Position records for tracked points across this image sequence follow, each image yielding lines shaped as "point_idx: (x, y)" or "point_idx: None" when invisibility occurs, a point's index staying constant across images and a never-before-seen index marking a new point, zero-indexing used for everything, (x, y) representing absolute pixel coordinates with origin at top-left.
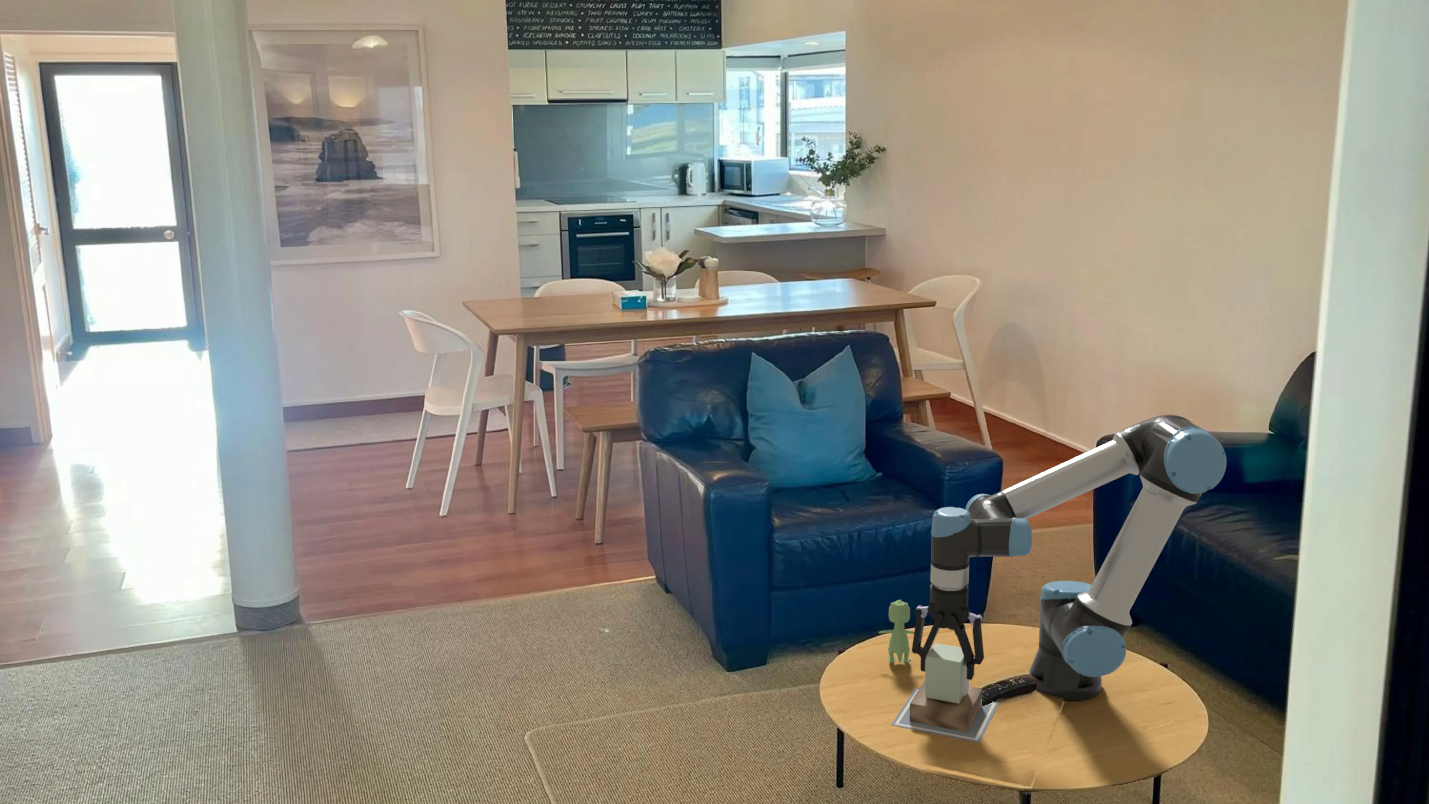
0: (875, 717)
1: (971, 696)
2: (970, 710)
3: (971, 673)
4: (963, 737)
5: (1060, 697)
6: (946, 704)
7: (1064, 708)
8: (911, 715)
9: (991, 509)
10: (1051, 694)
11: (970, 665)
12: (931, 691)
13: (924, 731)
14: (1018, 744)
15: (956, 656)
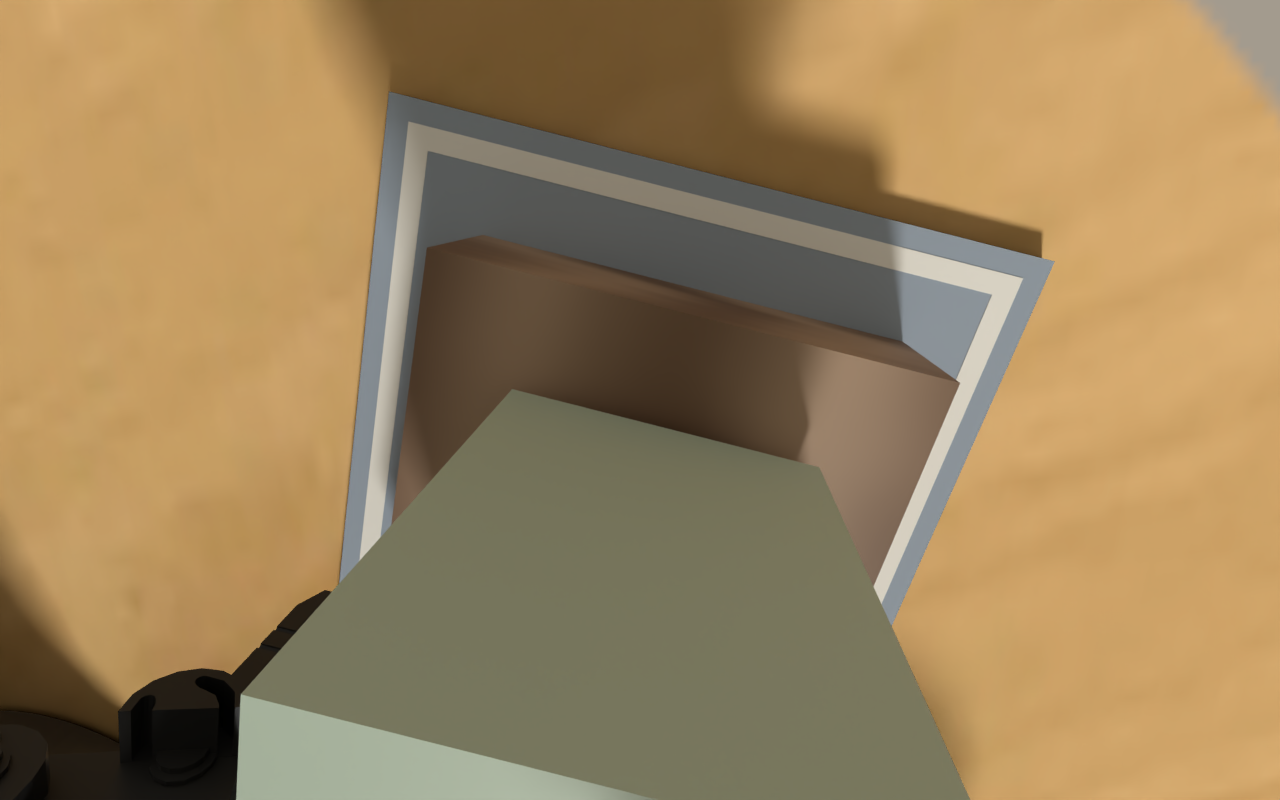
0: (1138, 395)
1: None
2: (418, 323)
3: (276, 644)
4: (509, 152)
5: (35, 722)
6: (627, 401)
7: (8, 632)
8: (904, 348)
9: None
10: (77, 742)
11: (155, 694)
12: (771, 481)
13: (799, 196)
14: (152, 160)
15: None
